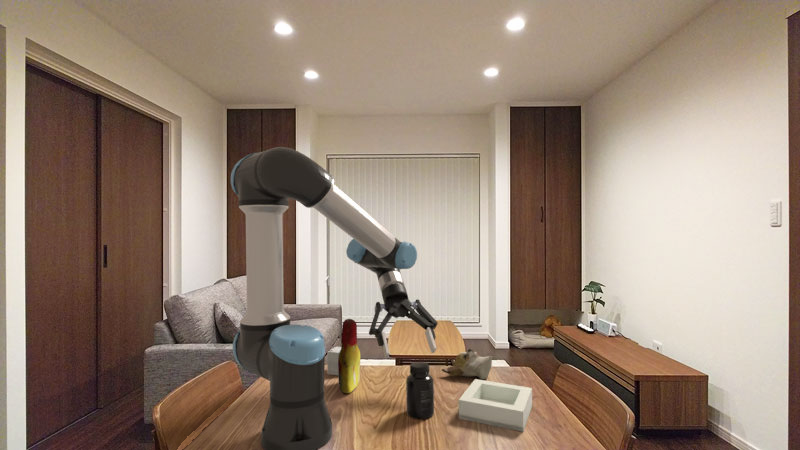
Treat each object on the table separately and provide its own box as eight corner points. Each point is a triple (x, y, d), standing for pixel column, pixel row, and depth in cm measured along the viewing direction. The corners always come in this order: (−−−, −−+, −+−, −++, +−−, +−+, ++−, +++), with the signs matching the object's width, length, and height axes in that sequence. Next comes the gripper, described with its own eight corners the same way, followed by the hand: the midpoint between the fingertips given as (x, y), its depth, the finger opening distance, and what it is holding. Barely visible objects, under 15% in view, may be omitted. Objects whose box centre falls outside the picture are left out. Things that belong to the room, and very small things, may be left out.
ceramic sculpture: (486, 355, 115) (439, 351, 122) (488, 385, 115) (441, 380, 122) (496, 346, 125) (451, 343, 132) (497, 374, 124) (453, 369, 131)
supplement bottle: (434, 408, 100) (433, 360, 101) (433, 420, 93) (433, 369, 94) (407, 407, 101) (407, 360, 101) (405, 419, 94) (405, 369, 94)
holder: (458, 418, 94) (458, 399, 95) (475, 395, 108) (475, 379, 108) (523, 431, 88) (523, 411, 88) (532, 405, 101) (531, 388, 101)
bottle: (356, 396, 107) (356, 323, 108) (333, 396, 108) (333, 323, 108) (362, 380, 119) (362, 314, 120) (342, 380, 120) (342, 314, 120)
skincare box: (352, 370, 129) (352, 347, 129) (343, 376, 123) (343, 353, 123) (336, 368, 131) (336, 346, 131) (326, 374, 125) (326, 351, 125)
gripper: (427, 294, 127) (448, 355, 113) (351, 299, 119) (363, 365, 104) (433, 280, 122) (456, 341, 108) (355, 284, 114) (369, 351, 99)
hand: (411, 353), depth 106 cm, fingers open, 13 cm apart
